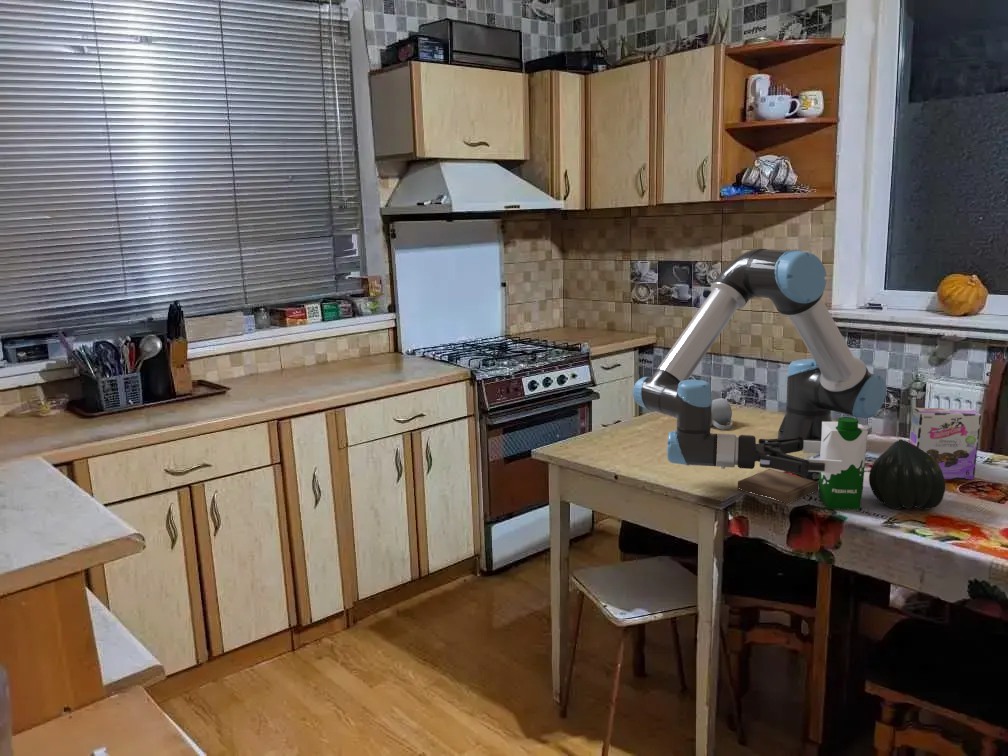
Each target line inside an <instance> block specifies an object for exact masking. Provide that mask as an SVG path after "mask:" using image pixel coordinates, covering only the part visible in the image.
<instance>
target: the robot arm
mask: <svg viewBox="0 0 1008 756" xmlns="http://www.w3.org/2000/svg"><path fill="white" fill-rule="evenodd" d="M826 276H827V271H826V268H825V264H824V263H823V262H822V260H821V259H820V258H819V257H818V256H817V255H815V254H813V253H812V252H809V251H802V250H799V249H793V250H792V249H791V250H787V249H786V250H785V249H767V248H755V249H754V248H753V249H751V250H749V251H748V250H747V251H746V252H744V253H742V254H740V255H739V256H737V257H736V258H735V259H733V260H732V261H731V262H730V263H729V264H728V265H726V266H725V267H724V268H723V270H722V271H721V272H720V273H719V274H718V275H717V277H716V278H715V279H714V281H712V284H711V285H710V290H711V292H710V293H709V295H708V296H707V297H706V299H705V300H704V302H703V303H702V305H701V306H700V308H699V309H698V310H697V312H696V313H695V314H694V316H693V317H692V319H691V320H690V321H689V323H688V325H687V326H686V327H685V329H684V330H683V332H681V334H680V336H679V337H678V338H677V340H676V342H675V343H673V346H672V347H671V348H670V350H669V351H668V353H667V354H666V355H665V357H664V358H663V359H662V361H661V363H660V364H659V366H658V367H657V368H656V370H655V371H654V372H653V374H652V375H651V376H643V377H641V378H639V379H638V380H637V381H636V382H635V384H634V386H633V390H632V397H633V400H634V402H635V403H636V404H637V405H638V406H640V407H642V408H643V409H646V410H649V411H651V412H657V413H660V414H662V415H666V416H669V417H673V418H675V419H676V430H674V431H673V430H671V431H668V432H669V433H668V434H667V447H666V448H667V449H666V456H667V457H666V458H667V460H668V461H669V463H671V464H677V465H684V466H689V467H690V466H700V467H701V466H702V467H719V468H721V469H722V470H725V469H726V468H735V467H736V466H737V468H738V469H747V470H749V469H750V470H753V469H754V468H755V466H756V462H758V463H759V468H767V469H772V470H776V471H781V472H782V471H783V472H787V473H792V474H796V475H798V474H801V475H804V476H807V475H808V472H824V473H840V474H841V464H842V461H841V460H828V459H820V458H811V457H810V458H808V459H806V458H801V457H797V456H794V455H790V454H793V453H797V452H802V453H804V454H805V453H806V454H820V451H821V437H822V422H833V420H832V415H831V414H832V412H834V413H835V412H836V413H838V414H839V413H840V414H843V415H847V416H850V417H852V418H860V419H868V418H870V419H871V418H872V417H873V416H875V415H877V413H878V412H879V411H880V410H881V408H882V407H883V404H884V403H885V402H884V401H885V400H886V394H887V383H886V382H887V381H886V380H885V378H884V377H883V376H881V375H879V374H878V373H871V372H870V370H869V369H868V367H867V366H866V363H865V362H864V361H863V360H862V359H860V357H859V358H858V357H855V356H854V355H853V353H852V351H851V350H850V347H849V346H848V344H847V343H846V340H845V339H844V336H843V334H842V333H841V332H840V330H839V328H838V326H837V324H836V322H835V320H834V318H833V317H832V315H831V313H830V311H829V309H828V308H827V305H826V304H825V302H824V300H823V296H824V294H825V289H826V285H827V279H826V278H825V277H826ZM756 297H757V298H763V299H769V300H771V303H773V305H774V307H775V308H776V311H778V313H779V314H780V315H783V316H787V317H788V318H789V319H790V321H791V322H792V324H793V327H794V328H795V329H796V331H797V333H798V335H799V337H800V338H801V340H802V342H803V343H804V345H805V348H807V350H808V353H809V354H810V355H811V357H812V358H803V359H797V360H793V361H791V362H790V364H789V366H788V371H787V372H788V373H787V376H786V377H787V378H786V379H787V380H786V381H787V384H786V385H787V386H786V401H785V402H786V403H785V404H786V405H785V409H786V410H785V414H784V416H783V418H782V421H781V424H780V426H779V428H778V432H777V438H768V439H767V438H760V439H758V443H756V442H757V438H756V436H755V435H750V434H749V435H748V434H740V435H738V436H737V435H736V433H734V434H733V433H731V434H730V433H712V432H711V427H712V426H711V408H712V400H713V398H712V396H713V395H712V386H711V384H710V383H709V382H708V381H706V380H703V379H702V380H701V379H689V378H691V376H692V374H693V372H694V371H695V370H696V369H697V367H698V366H699V364H700V363H701V362H702V360H703V359H704V357H705V355H707V353H708V352H709V350H710V349H711V347H712V346H713V345H714V343H715V342H716V340H717V339H718V337H719V336H720V334H721V333H722V332H723V330H724V328H725V327H726V326H727V324H728V323H729V321H731V319H732V318H733V316H734V314H735V313H736V312H737V311H738V309H743V308H744V307H746V305H747V304H748V302H749V301H750V300H752V299H753V298H756Z"/></svg>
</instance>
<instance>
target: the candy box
mask: <svg viewBox="0 0 1008 756" xmlns="http://www.w3.org/2000/svg"><path fill="white" fill-rule="evenodd" d="M911 412H912V413H911V421H910V432H909V439H908V442H909V443H911V444H913V445H915V446H916V447H918V448H920V449H921V450H923V451H924V452H926V453H927V454H929V455H930V456H931V457H932V458H934V459H935V460H936V462H937V463H938V464H939V466H940V468H941V471H942V473H943V476H944V480H965V479H974V480H975V473H976V465H977V455H978V448H979V447H978V446H979V436H980V430H981V429H980V427H981V419H982V414H981V413H979V412H978V411H976V410H975V409H973V408H947V407H946V408H944V407H943V408H942V407H939V408H938V407H937V408H936V407H935V408H934V407H933V408H932V407H912V411H911Z"/></svg>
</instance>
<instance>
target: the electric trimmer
mask: <svg viewBox="0 0 1008 756" xmlns="http://www.w3.org/2000/svg"><path fill="white" fill-rule="evenodd" d="M797 476H799V477H802V478H806V479H809V480H813V481H817V482H819V472H808V475H807V476H804V475H801V474H797Z"/></svg>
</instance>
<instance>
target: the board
mask: <svg viewBox="0 0 1008 756" xmlns="http://www.w3.org/2000/svg"><path fill="white" fill-rule="evenodd" d="M738 488H740V489H742V490H744V491H743V492H745V491H747V492H746V493H749V492H752V493H755V494H758V495H757V496H759V495H763V496H767V497H771V498H774V499H776V500H779V501H782V502H785V503H784V504H786V503H787V504H786V505H789V504H791V503H793V502H795V501H797V500H796V499H798V500H799V498H800V499H802V498H804V497H806V496H808V494H809V495H811V494H813V493H815V492H817V491H819V481H813V480H809V479H807V478H805V477H802V476H799V475H793V474H790V473H788V472H787V473H786V472H784V471H783V472H782V471H780V470H776V469H772V468H767V469H765V470H763V471H760V472H758V473H755V474H752V475H750V476H748V477H745V478H743V479H739V480H738V481H737V489H738ZM742 490H741V491H742ZM812 492H813V493H812ZM752 493H751V494H752ZM810 493H811V494H810ZM755 494H754V495H755ZM805 495H806V496H805ZM803 496H804V497H803ZM801 497H802V498H801ZM776 500H775V501H776ZM794 500H795V501H794ZM779 501H778V502H779ZM792 501H793V502H792ZM782 502H781V503H782ZM790 502H791V503H790ZM788 503H789V504H788Z"/></svg>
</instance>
